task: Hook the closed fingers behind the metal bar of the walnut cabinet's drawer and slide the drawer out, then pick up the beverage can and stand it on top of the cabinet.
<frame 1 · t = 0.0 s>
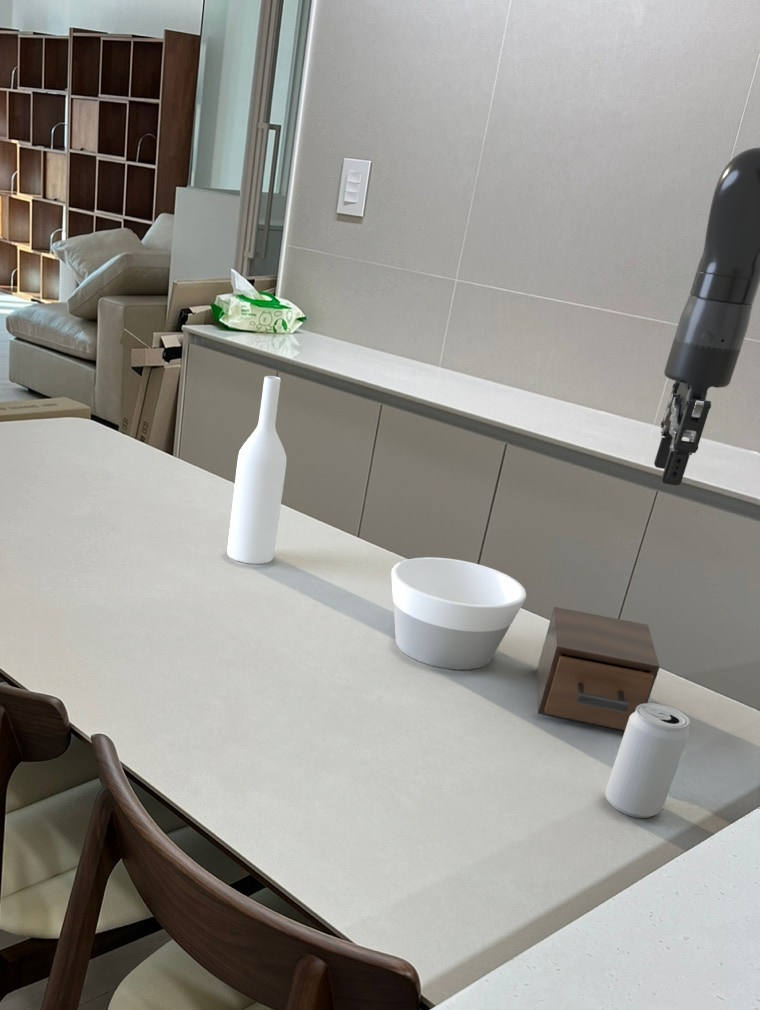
hand: (666, 475, 132), 31 cm above the table, tool pointing down, fingers open, 8 cm apart
bowl: (442, 650, 156), on the table
bottle: (249, 557, 183), on the table
beverage can: (630, 807, 122), on the table
drawer: (596, 681, 139), point 5 cm above the table, slide at 0.5 cm
cabinet: (584, 699, 146), on the table
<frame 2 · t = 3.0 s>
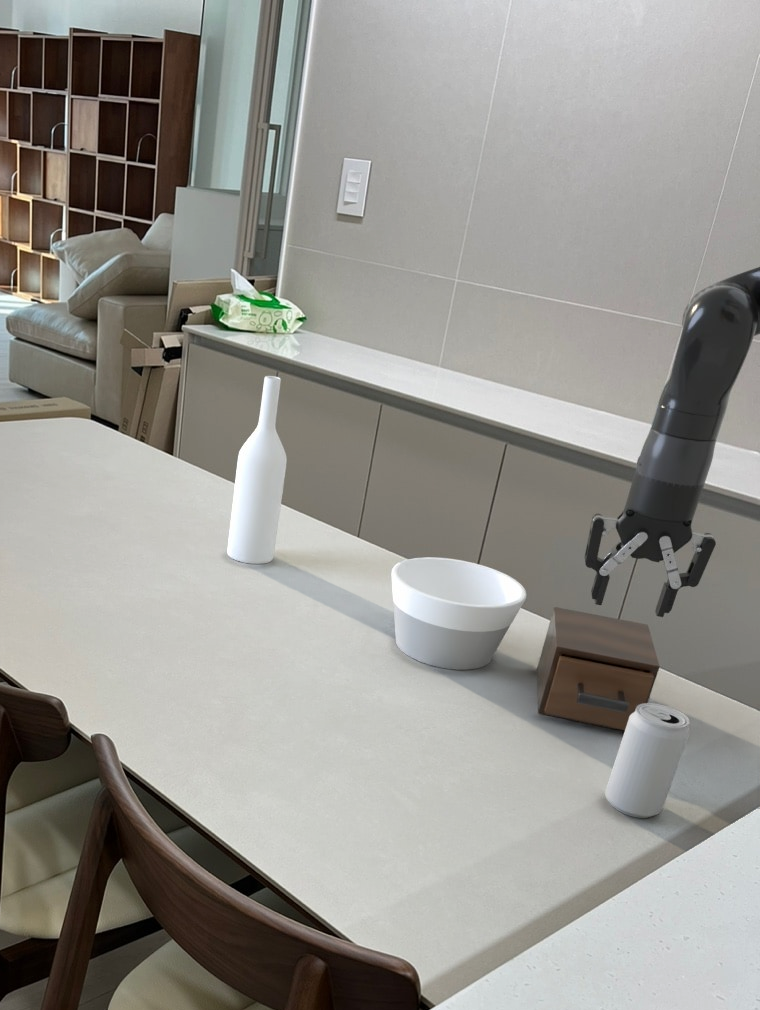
hand: (628, 608, 128), 18 cm above the table, tool pointing down, fingers open, 6 cm apart
nothing on the table moved.
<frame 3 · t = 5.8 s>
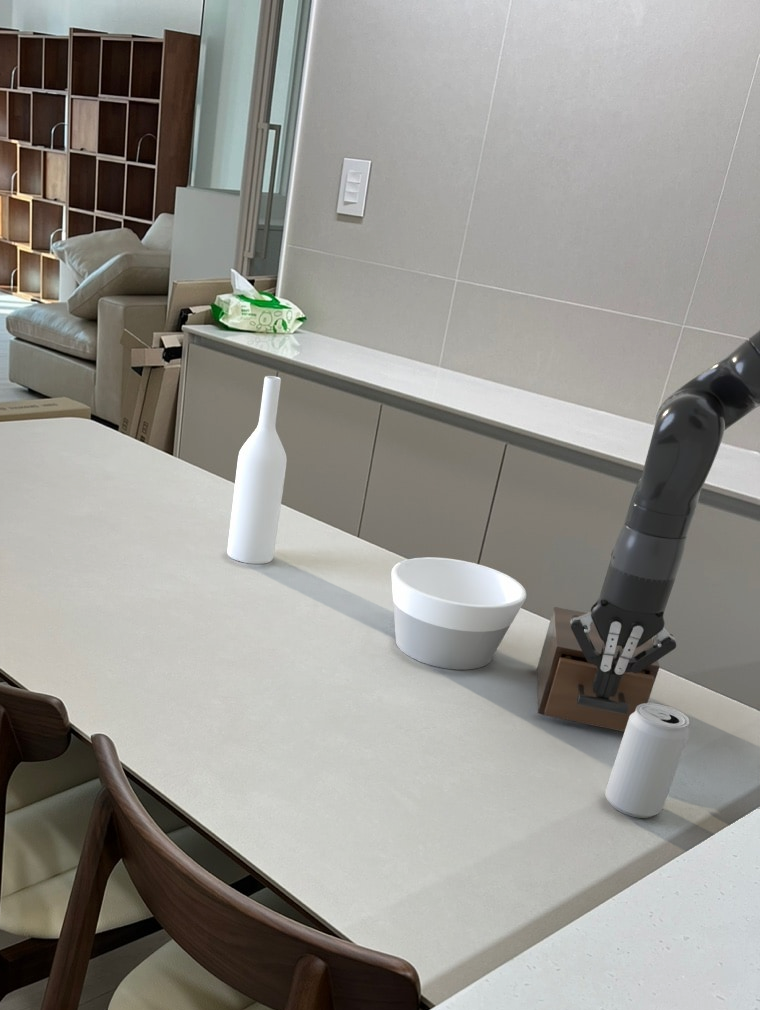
hand: (601, 696, 132), 6 cm above the table, tool pointing down, fingers closed
drawer: (596, 683, 139), point 5 cm above the table, slide at 1.0 cm, touching gripper
everything else where it was.
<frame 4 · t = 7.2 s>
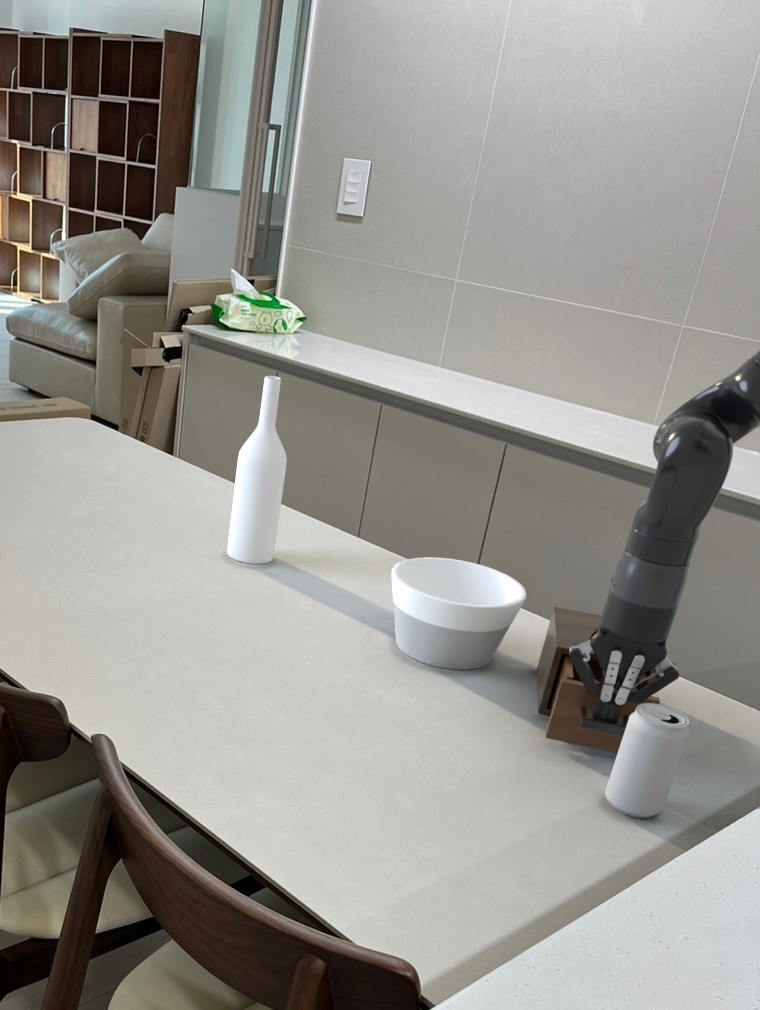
hand: (602, 726, 127), 5 cm above the table, tool pointing down, fingers closed
drawer: (599, 704, 133), point 5 cm above the table, slide at 7.6 cm, touching gripper
everything else where it was.
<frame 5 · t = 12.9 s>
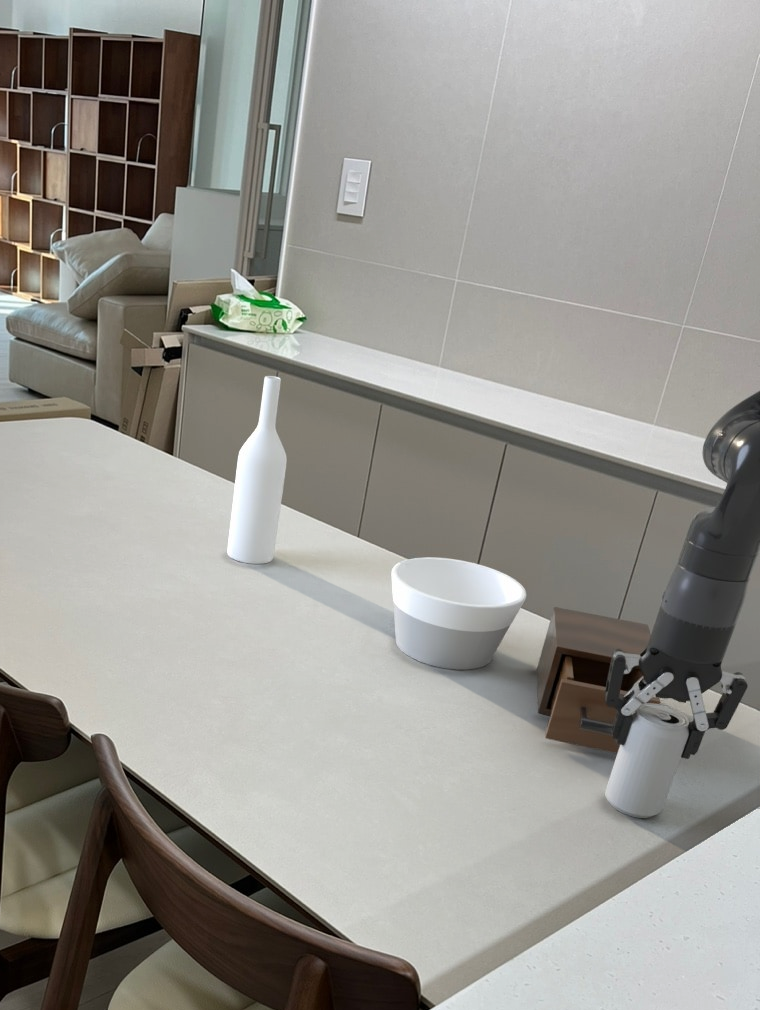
hand: (651, 748, 118), 8 cm above the table, tool pointing down, fingers closed on beverage can, 6 cm apart
beverage can: (630, 807, 122), on the table, touching gripper
drawer: (599, 705, 133), point 5 cm above the table, slide at 7.7 cm
everything else where it was.
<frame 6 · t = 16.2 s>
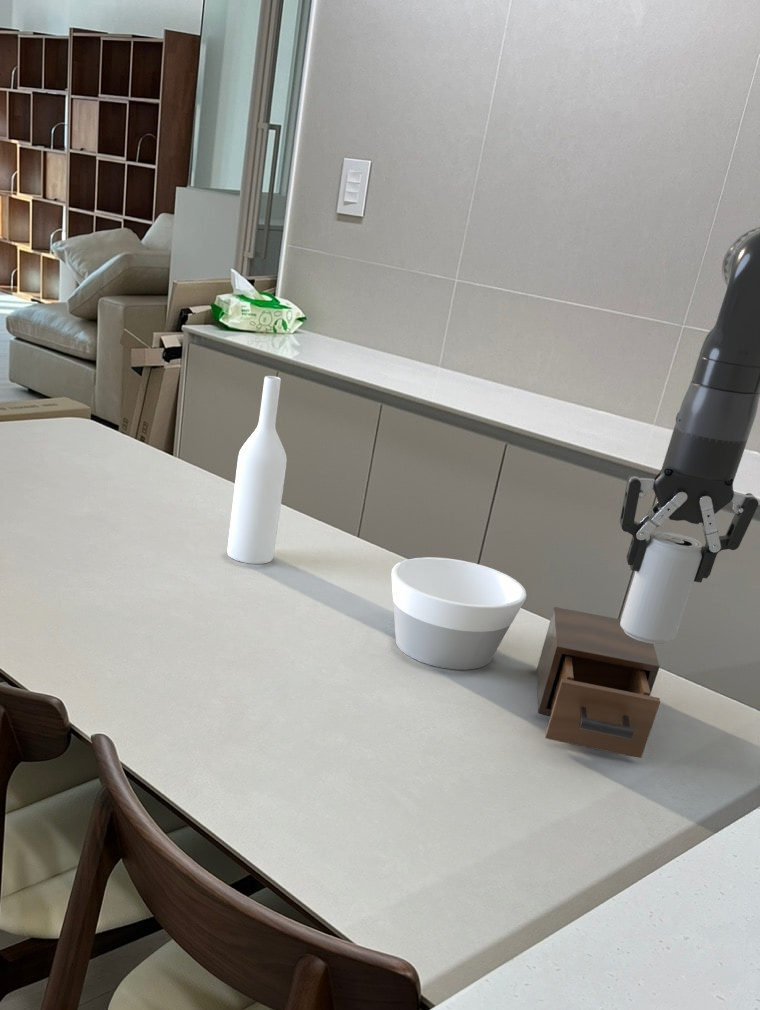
hand: (665, 574, 122), 24 cm above the table, tool pointing down, fingers closed on beverage can, 6 cm apart
beverage can: (645, 636, 126), point 16 cm above the table, touching gripper
everything else where it was.
when the fingers open (18 cm above the table, at t = 19.7 s): beverage can stays where it is, resting on cabinet.
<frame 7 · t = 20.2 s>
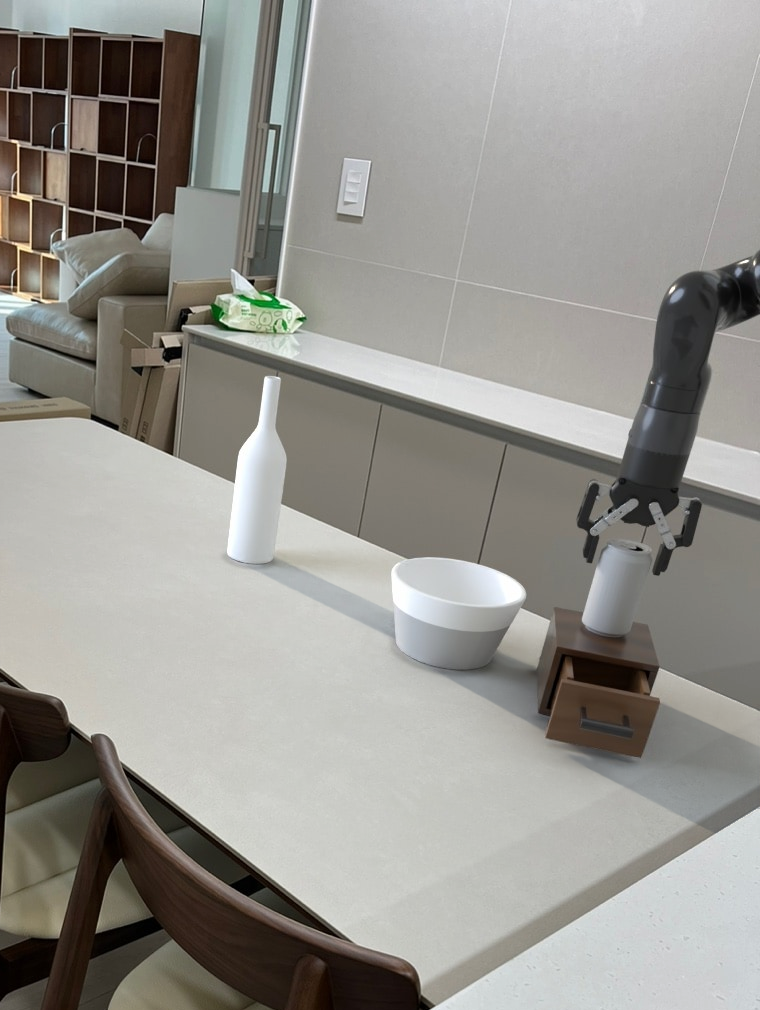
hand: (622, 567, 139), 19 cm above the table, tool pointing down, fingers open, 8 cm apart
beverage can: (603, 631, 143), point 10 cm above the table, touching cabinet
everything else where it was.
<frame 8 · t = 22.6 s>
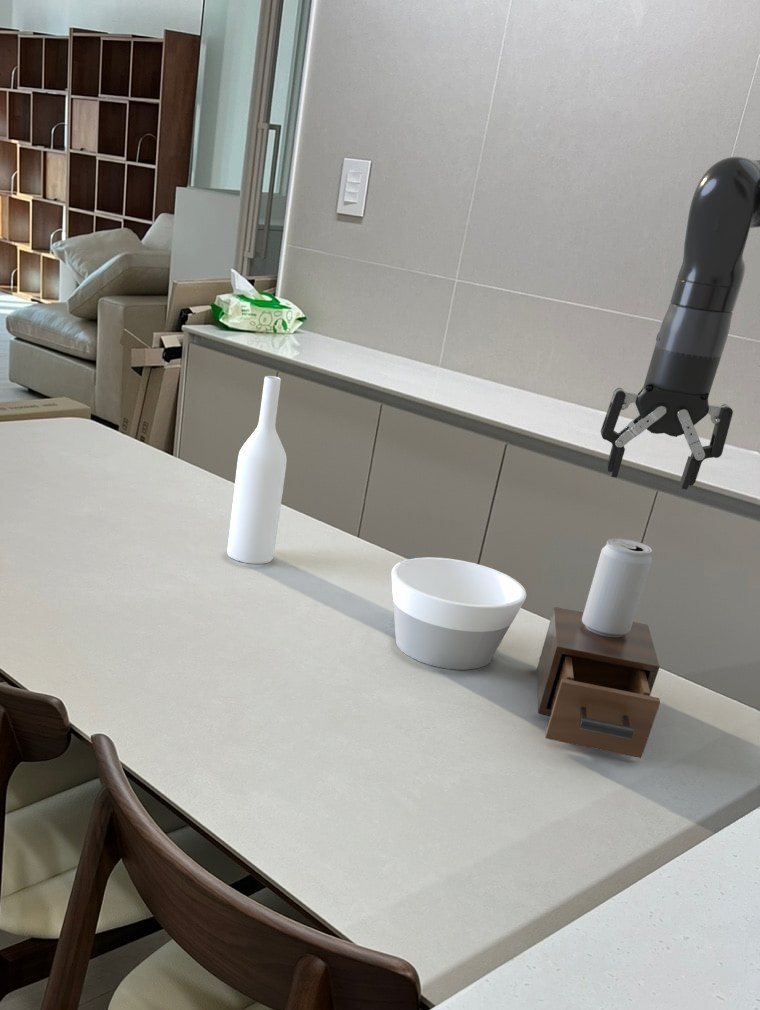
hand: (648, 481, 133), 30 cm above the table, tool pointing down, fingers open, 8 cm apart
nothing on the table moved.
at the end: drawer slide at 7.7 cm; beverage can inside the target area on the cabinet (1.9 cm from its centre), point 9.6 cm above the cabinet's base; beverage can tilted 0° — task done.
